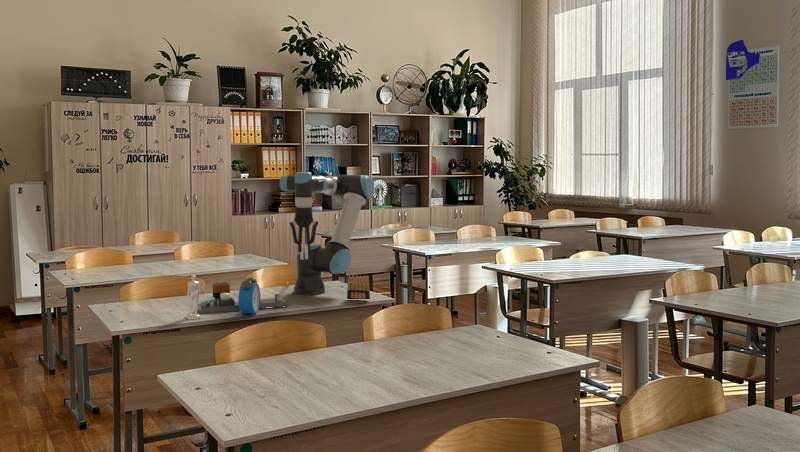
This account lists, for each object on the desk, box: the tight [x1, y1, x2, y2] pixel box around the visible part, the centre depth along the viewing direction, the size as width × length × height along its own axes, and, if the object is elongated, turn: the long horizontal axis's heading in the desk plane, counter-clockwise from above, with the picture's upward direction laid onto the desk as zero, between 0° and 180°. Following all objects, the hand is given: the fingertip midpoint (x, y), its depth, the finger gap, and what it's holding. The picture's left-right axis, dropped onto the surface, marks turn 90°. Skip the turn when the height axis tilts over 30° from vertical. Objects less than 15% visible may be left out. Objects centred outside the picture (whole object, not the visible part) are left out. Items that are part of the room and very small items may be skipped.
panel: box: [198, 293, 288, 314], centre depth 323 cm, size 37×9×5 cm, turn 111°
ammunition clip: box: [346, 274, 371, 300], centre depth 340 cm, size 11×2×12 cm, turn 76°
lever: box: [278, 281, 290, 298], centre depth 329 cm, size 3×3×8 cm
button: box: [220, 292, 232, 301], centre depth 320 cm, size 4×4×3 cm
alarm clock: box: [237, 277, 261, 315], centre depth 312 cm, size 13×6×15 cm, turn 176°
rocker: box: [199, 297, 216, 305], centre depth 317 cm, size 6×3×1 cm, turn 111°
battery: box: [212, 280, 231, 303], centre depth 332 cm, size 4×7×10 cm, turn 121°
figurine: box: [184, 274, 205, 320], centre depth 304 cm, size 8×7×18 cm
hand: (304, 258), depth 331 cm, fingers closed
